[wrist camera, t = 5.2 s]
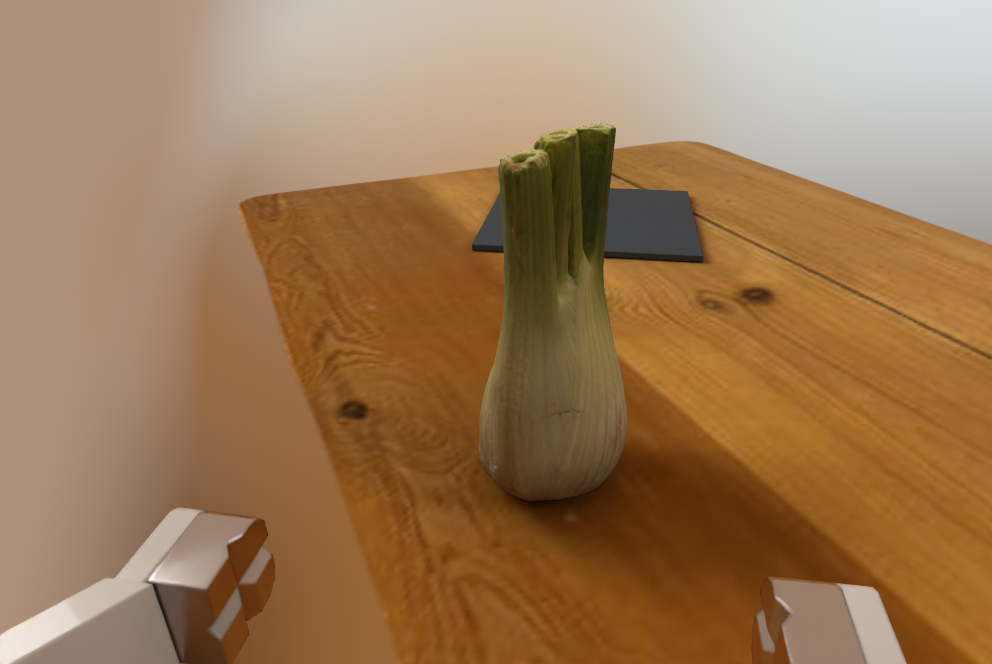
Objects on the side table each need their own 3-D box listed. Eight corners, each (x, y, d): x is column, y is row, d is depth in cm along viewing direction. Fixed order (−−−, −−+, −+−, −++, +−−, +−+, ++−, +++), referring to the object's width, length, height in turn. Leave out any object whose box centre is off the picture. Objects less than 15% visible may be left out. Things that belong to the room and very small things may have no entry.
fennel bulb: (576, 414, 28) (592, 104, 22) (661, 483, 24) (707, 133, 19) (448, 463, 25) (429, 127, 20) (522, 549, 22) (526, 165, 16)
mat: (472, 250, 44) (471, 244, 43) (504, 189, 55) (504, 184, 55) (702, 262, 42) (703, 256, 41) (687, 196, 53) (687, 191, 53)
